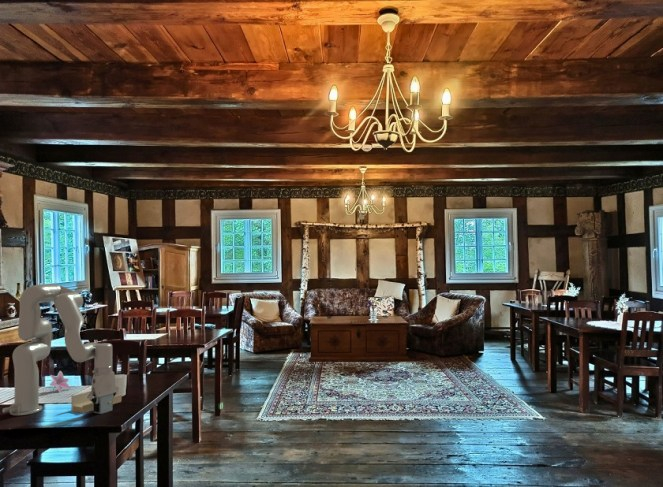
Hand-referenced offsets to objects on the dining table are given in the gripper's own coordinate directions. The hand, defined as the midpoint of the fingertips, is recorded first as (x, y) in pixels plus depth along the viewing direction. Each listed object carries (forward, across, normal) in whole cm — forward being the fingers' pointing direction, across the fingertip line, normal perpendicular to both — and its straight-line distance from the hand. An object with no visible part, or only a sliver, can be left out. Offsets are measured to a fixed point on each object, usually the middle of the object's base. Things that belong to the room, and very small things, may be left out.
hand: (103, 409), depth 217 cm
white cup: (+1, +21, +17) cm, 27 cm away
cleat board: (+1, +4, +10) cm, 11 cm away
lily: (+1, +14, +56) cm, 57 cm away
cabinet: (+1, 0, 0) cm, 1 cm away
